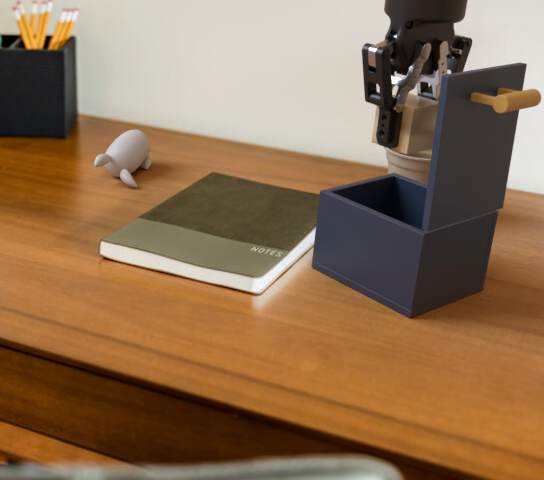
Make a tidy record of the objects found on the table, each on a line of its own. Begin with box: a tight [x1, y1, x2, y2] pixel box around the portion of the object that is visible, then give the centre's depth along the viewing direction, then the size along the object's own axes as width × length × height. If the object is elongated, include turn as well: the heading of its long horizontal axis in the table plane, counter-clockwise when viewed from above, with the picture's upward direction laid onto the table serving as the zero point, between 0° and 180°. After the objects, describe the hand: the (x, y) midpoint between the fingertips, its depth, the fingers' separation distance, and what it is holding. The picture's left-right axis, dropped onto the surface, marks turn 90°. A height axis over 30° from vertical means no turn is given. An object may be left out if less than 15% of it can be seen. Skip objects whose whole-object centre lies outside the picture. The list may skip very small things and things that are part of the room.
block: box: [371, 92, 438, 154], centre depth 90 cm, size 5×5×5 cm
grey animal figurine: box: [93, 129, 152, 188], centre depth 121 cm, size 6×5×12 cm
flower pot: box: [383, 146, 432, 185], centre depth 111 cm, size 9×9×9 cm
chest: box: [311, 173, 499, 319], centre depth 93 cm, size 14×12×9 cm
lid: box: [422, 62, 542, 231], centre depth 82 cm, size 14×12×5 cm
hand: (404, 141), depth 90 cm, fingers closed on block, 4 cm apart
